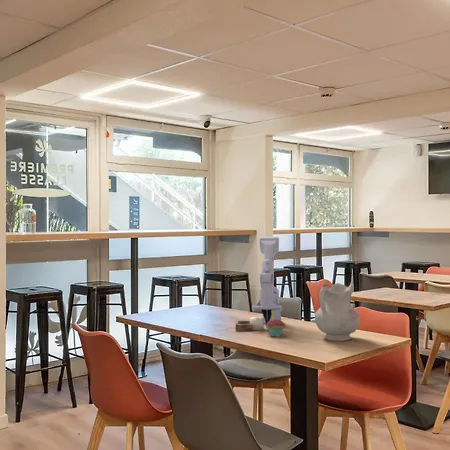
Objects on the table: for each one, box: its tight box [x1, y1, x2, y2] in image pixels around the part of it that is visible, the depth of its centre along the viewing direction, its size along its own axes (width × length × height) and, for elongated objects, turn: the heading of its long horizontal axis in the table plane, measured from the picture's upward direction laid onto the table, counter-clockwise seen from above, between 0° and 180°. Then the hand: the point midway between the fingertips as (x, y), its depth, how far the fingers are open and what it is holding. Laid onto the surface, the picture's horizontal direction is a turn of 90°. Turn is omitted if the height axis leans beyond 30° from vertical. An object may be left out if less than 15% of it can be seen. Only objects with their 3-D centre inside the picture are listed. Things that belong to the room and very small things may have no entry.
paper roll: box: [249, 316, 265, 331], centre depth 272 cm, size 7×7×5 cm
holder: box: [235, 320, 254, 332], centre depth 272 cm, size 8×11×3 cm
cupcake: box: [265, 309, 286, 337], centre depth 256 cm, size 9×8×12 cm
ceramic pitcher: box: [314, 282, 361, 342], centre depth 247 cm, size 22×20×25 cm
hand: (267, 325), depth 272 cm, fingers closed
